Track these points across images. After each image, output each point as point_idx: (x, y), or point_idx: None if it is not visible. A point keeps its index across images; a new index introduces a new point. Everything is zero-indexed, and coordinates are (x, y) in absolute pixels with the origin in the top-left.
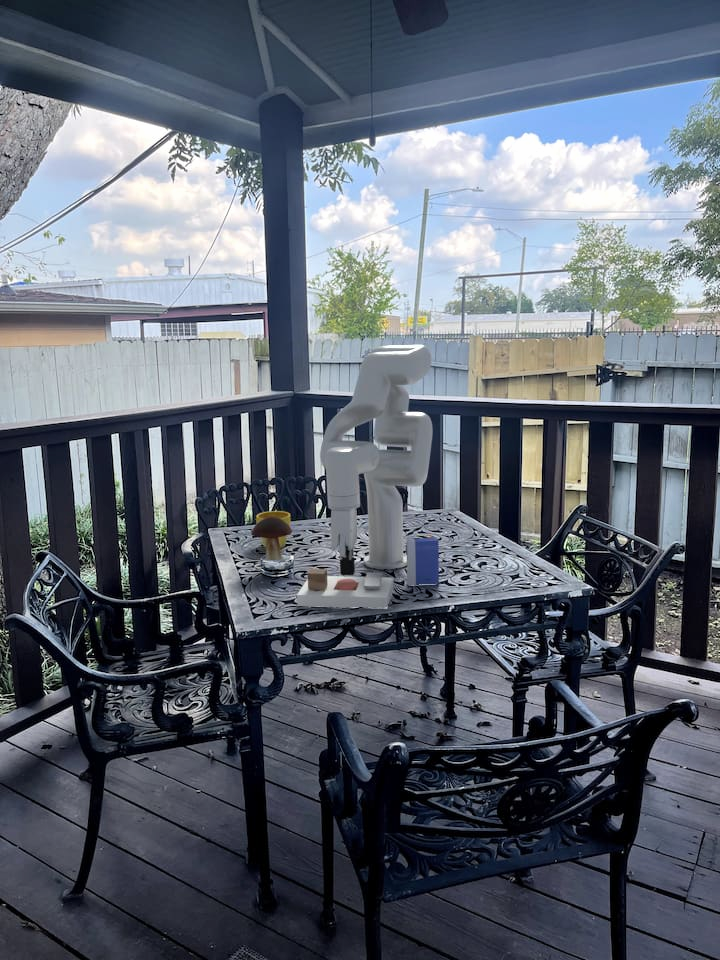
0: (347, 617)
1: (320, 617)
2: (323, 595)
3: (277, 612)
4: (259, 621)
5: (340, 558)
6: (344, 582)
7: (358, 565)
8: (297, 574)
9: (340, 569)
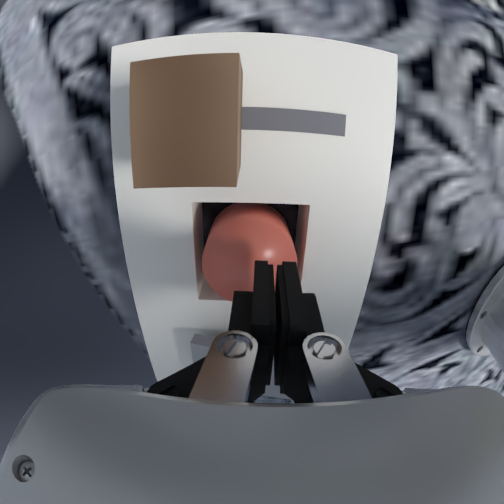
0: (85, 258)
1: (64, 174)
2: (115, 172)
3: (89, 12)
4: (34, 6)
5: (212, 347)
6: (244, 257)
7: None
8: (480, 31)
9: (255, 276)
